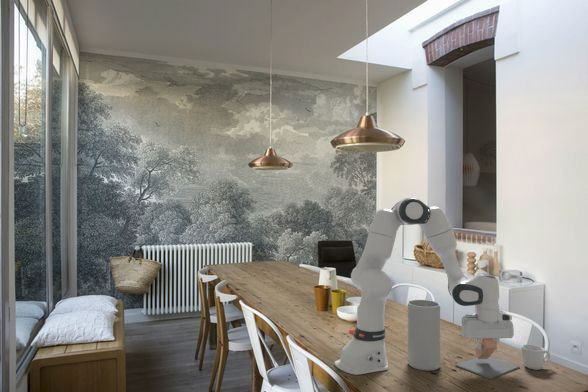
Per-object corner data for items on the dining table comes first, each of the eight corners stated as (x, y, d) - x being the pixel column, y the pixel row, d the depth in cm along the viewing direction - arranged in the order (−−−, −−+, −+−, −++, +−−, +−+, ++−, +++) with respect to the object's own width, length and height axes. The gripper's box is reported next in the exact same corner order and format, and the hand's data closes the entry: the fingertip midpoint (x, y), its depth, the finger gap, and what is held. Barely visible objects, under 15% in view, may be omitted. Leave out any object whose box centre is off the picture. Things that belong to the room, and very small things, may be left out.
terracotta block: (478, 359, 173) (487, 347, 166) (474, 349, 176) (483, 338, 169) (487, 358, 174) (497, 347, 167) (484, 349, 176) (493, 338, 169)
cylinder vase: (415, 357, 180) (415, 298, 181) (444, 364, 173) (444, 302, 173) (402, 366, 171) (402, 303, 171) (433, 374, 163) (433, 308, 163)
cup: (543, 363, 174) (543, 344, 174) (556, 371, 166) (556, 350, 166) (517, 363, 173) (517, 344, 174) (529, 371, 165) (529, 351, 166)
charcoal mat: (490, 379, 158) (490, 377, 158) (455, 366, 171) (455, 364, 171) (519, 367, 169) (519, 366, 169) (484, 356, 182) (484, 354, 182)
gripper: (465, 316, 167) (465, 352, 166) (516, 316, 168) (516, 351, 168) (458, 312, 173) (458, 346, 173) (507, 312, 174) (507, 345, 174)
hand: (487, 349), depth 170 cm, fingers closed on terracotta block, 4 cm apart
